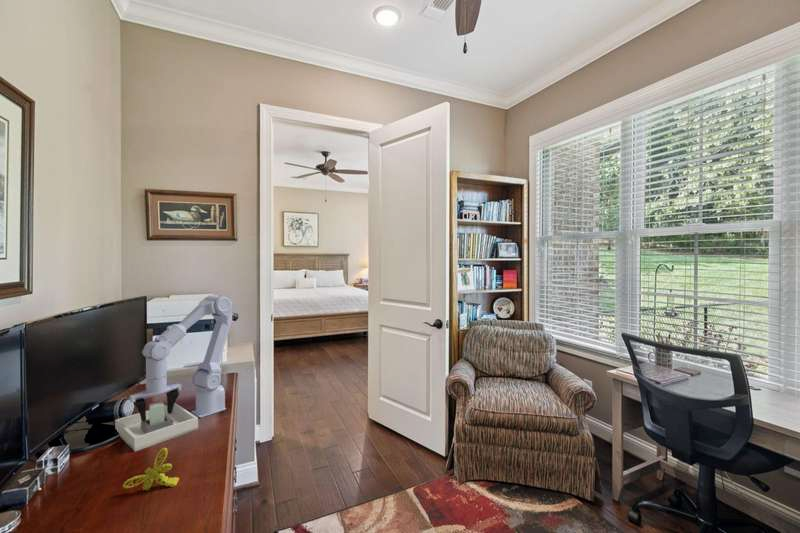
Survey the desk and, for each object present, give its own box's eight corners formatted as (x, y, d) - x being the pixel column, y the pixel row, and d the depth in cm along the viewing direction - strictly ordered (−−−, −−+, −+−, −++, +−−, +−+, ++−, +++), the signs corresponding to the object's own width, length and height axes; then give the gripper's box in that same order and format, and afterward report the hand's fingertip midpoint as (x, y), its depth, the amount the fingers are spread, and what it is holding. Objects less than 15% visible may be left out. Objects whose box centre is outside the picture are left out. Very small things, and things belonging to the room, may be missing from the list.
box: (175, 413, 133) (174, 402, 133) (198, 429, 121) (198, 417, 121) (115, 431, 119) (115, 419, 119) (134, 451, 107) (134, 438, 107)
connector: (163, 424, 123) (163, 401, 123) (164, 428, 120) (164, 405, 120) (149, 427, 120) (149, 404, 120) (150, 432, 117) (149, 408, 117)
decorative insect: (150, 510, 89) (120, 487, 87) (154, 502, 92) (125, 479, 90) (191, 471, 91) (162, 448, 89) (194, 465, 94) (166, 442, 92)
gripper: (175, 369, 128) (176, 406, 128) (126, 380, 117) (127, 420, 117) (183, 373, 124) (184, 411, 124) (133, 384, 112) (134, 427, 112)
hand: (156, 416), depth 120 cm, fingers open, 7 cm apart
